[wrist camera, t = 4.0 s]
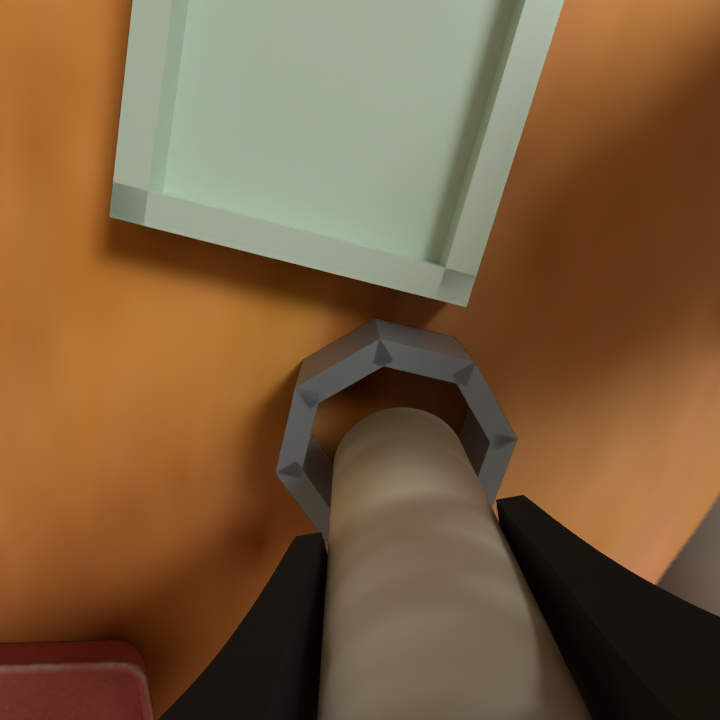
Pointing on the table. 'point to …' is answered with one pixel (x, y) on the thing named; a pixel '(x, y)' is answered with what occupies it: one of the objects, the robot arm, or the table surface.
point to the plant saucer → (73, 681)
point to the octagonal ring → (362, 357)
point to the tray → (330, 129)
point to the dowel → (428, 589)
